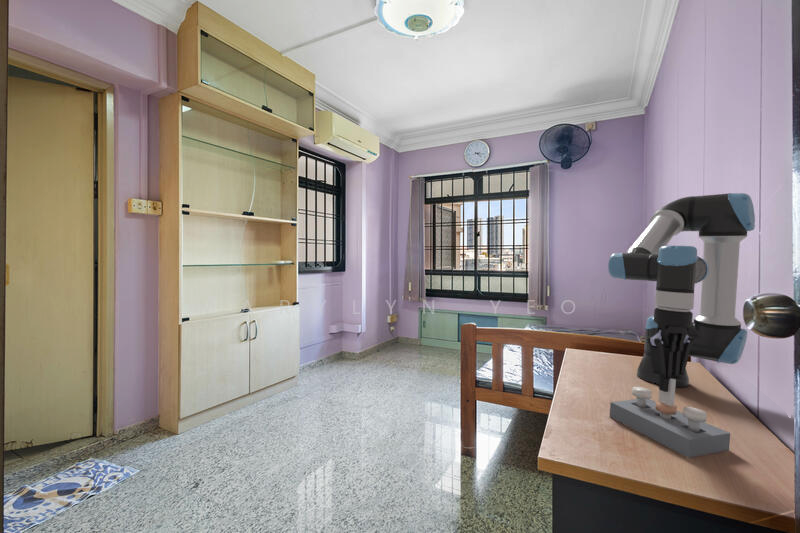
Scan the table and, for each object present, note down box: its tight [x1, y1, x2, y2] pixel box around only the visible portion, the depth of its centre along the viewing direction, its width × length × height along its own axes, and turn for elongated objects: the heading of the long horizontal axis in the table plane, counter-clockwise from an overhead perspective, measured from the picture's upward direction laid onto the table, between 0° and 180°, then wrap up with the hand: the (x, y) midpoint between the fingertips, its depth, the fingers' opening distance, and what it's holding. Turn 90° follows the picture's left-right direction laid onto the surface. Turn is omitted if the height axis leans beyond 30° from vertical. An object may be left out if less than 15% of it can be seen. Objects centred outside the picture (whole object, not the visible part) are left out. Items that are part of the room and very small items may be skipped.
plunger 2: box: [682, 406, 708, 433], centre depth 84 cm, size 4×4×5 cm
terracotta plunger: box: [655, 400, 678, 420], centre depth 90 cm, size 4×4×5 cm
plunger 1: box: [631, 386, 653, 409], centre depth 96 cm, size 4×4×5 cm
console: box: [609, 398, 731, 458], centre depth 90 cm, size 13×20×4 cm, turn 18°
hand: (666, 403), depth 90 cm, fingers closed
